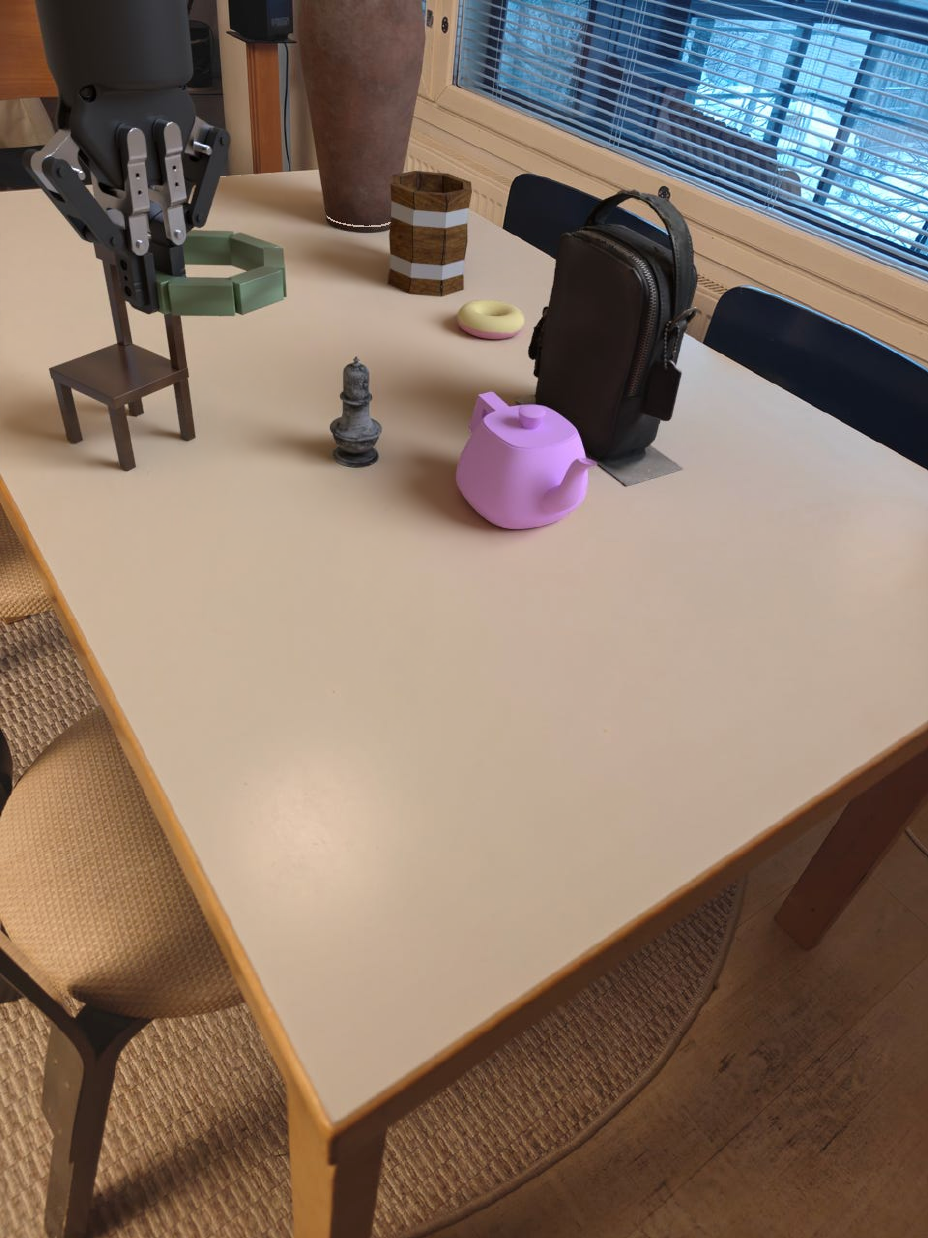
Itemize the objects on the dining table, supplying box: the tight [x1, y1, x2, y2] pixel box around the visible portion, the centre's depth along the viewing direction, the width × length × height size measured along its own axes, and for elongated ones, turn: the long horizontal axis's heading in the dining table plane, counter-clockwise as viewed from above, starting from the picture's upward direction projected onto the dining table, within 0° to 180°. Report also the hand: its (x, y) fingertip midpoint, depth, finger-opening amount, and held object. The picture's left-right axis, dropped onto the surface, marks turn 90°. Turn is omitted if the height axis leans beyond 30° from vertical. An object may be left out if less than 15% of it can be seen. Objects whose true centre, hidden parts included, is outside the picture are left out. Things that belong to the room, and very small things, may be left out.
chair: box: [48, 243, 196, 472], centre depth 89 cm, size 11×10×26 cm
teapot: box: [455, 391, 598, 530], centre depth 91 cm, size 13×20×11 cm
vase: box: [296, 0, 427, 234], centre depth 150 cm, size 21×26×45 cm
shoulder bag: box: [514, 188, 699, 487], centre depth 99 cm, size 23×9×28 cm, turn 33°
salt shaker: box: [329, 355, 383, 468], centre depth 95 cm, size 6×6×12 cm
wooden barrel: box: [387, 170, 473, 297], centre depth 140 cm, size 20×14×15 cm
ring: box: [116, 229, 288, 317], centre depth 58 cm, size 11×11×2 cm
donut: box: [456, 299, 525, 340], centre depth 129 cm, size 10×5×9 cm
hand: (156, 304), depth 55 cm, fingers closed on ring, 1 cm apart
